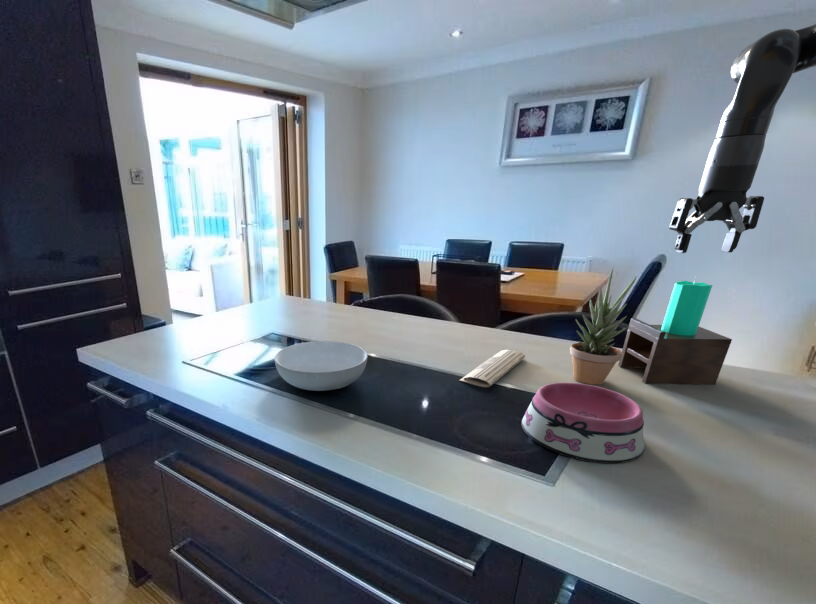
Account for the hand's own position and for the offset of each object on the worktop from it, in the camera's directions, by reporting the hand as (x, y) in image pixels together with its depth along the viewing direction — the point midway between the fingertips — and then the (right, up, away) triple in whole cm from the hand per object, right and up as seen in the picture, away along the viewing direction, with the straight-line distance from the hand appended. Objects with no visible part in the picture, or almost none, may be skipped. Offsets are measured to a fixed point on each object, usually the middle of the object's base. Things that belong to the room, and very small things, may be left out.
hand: (703, 252), depth 90 cm
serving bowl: (-78, -27, +12) cm, 83 cm away
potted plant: (-18, -26, +10) cm, 33 cm away
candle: (0, -16, +7) cm, 17 cm away
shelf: (+1, -25, +11) cm, 27 cm away
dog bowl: (-33, -36, -13) cm, 51 cm away
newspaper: (-36, -24, +16) cm, 46 cm away
